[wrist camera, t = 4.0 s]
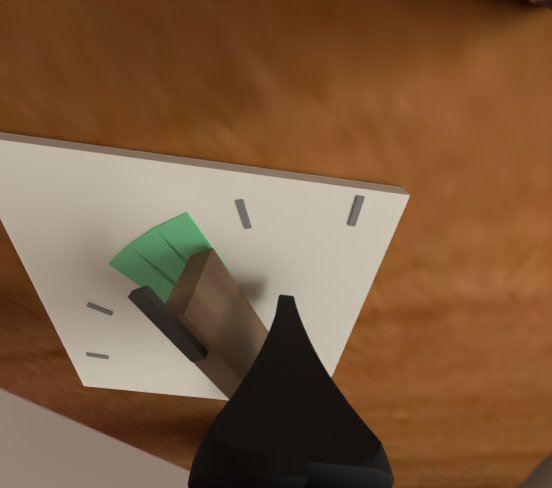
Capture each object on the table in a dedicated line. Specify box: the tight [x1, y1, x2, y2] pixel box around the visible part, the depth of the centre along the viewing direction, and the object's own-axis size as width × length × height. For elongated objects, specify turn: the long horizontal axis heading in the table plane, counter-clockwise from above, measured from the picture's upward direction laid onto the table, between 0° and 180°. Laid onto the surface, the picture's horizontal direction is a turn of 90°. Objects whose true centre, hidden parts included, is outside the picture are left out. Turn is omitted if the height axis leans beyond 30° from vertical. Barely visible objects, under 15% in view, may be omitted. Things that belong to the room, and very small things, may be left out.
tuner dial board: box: [0, 132, 410, 400], centre depth 16 cm, size 18×18×1 cm
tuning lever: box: [128, 248, 269, 400], centre depth 13 cm, size 16×3×5 cm, turn 23°
